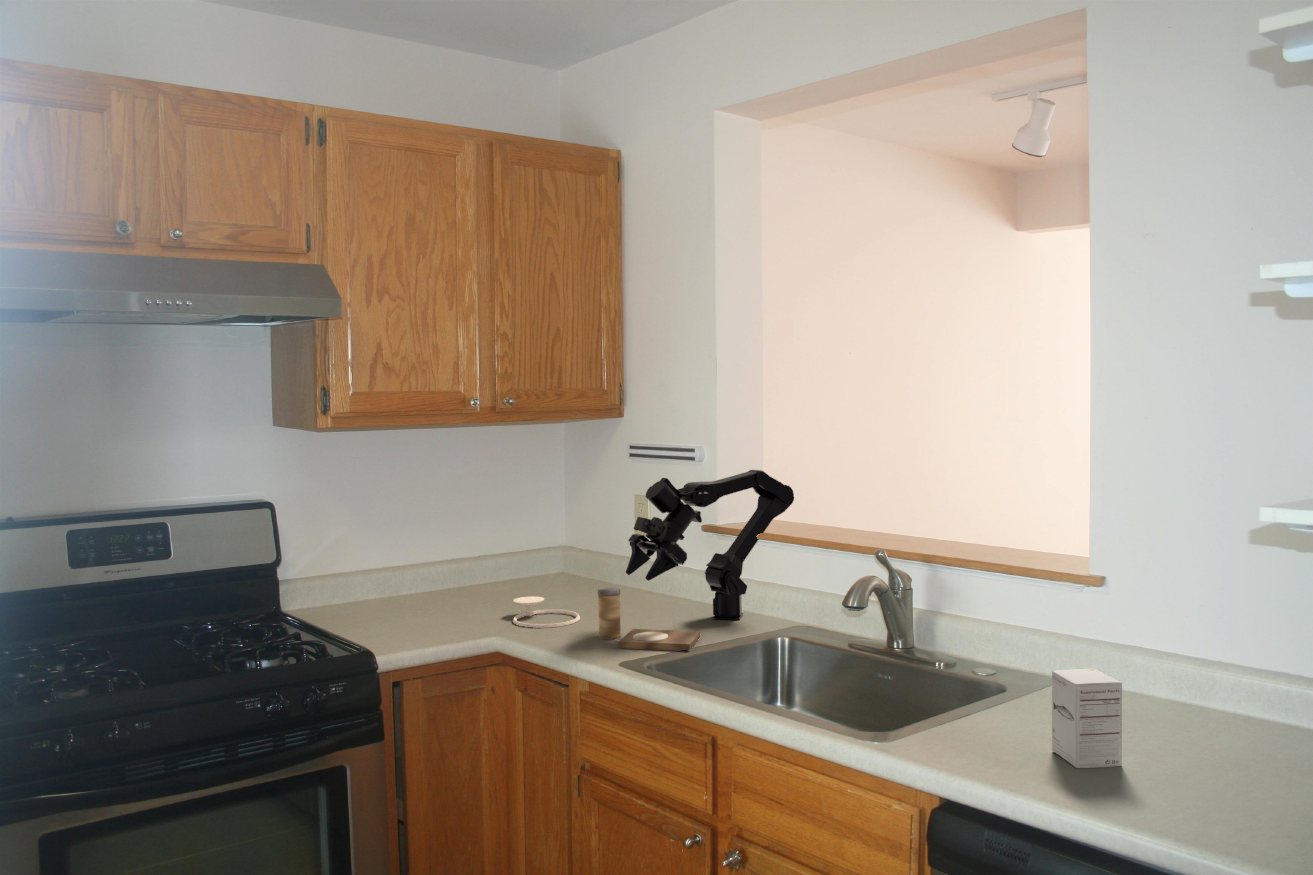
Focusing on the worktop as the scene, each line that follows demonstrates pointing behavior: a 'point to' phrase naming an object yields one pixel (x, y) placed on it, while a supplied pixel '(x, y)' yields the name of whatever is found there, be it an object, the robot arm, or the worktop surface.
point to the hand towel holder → (536, 600)
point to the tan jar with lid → (609, 613)
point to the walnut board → (659, 639)
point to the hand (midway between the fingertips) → (636, 576)
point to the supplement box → (1087, 718)
